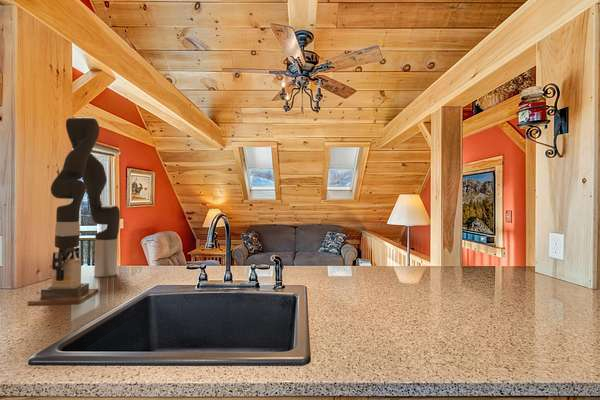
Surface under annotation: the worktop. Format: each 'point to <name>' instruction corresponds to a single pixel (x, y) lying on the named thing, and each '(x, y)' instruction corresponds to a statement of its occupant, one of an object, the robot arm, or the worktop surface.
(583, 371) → the worktop surface
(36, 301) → the slot holder
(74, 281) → the supplement box
